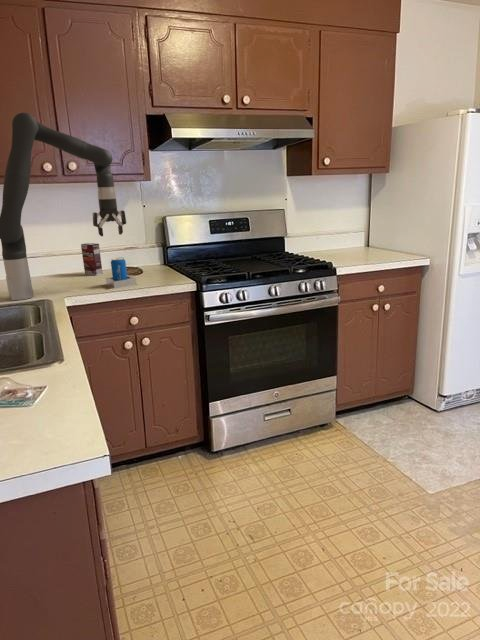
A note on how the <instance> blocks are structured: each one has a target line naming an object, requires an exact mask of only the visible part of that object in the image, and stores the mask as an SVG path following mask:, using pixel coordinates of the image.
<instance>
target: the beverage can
mask: <svg viewBox="0 0 480 640" xmlns="http://www.w3.org/2000/svg"><path fill="white" fill-rule="evenodd" d="M110 266H111V275H112V276H111V277H113V280H115V281H117V280H123V279H127V275H128V272H127V270H128V269H127V263H126V260H125V257H114V258H111V260H110Z"/></svg>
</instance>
